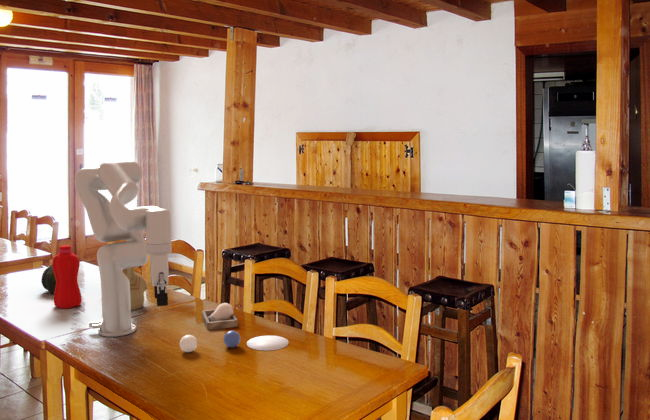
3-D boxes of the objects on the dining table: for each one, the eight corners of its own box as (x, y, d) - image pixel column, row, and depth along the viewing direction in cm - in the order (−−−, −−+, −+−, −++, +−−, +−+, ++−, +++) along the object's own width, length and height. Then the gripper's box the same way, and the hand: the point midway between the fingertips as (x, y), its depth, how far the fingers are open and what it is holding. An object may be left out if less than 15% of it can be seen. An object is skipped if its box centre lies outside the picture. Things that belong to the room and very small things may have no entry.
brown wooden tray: (207, 329, 211) (207, 323, 211) (201, 316, 226) (201, 310, 226) (237, 326, 215) (237, 320, 214) (230, 314, 230) (230, 307, 229)
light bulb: (208, 313, 214) (232, 299, 220) (200, 312, 219) (224, 299, 226) (215, 329, 215) (239, 315, 221) (206, 328, 220) (230, 315, 227)
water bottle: (69, 300, 247) (66, 242, 244) (84, 305, 241) (82, 245, 238) (48, 305, 240) (45, 245, 237) (63, 310, 234) (60, 248, 230)
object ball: (225, 350, 191) (224, 334, 190) (222, 345, 196) (222, 329, 195) (241, 348, 192) (241, 332, 192) (238, 343, 198) (238, 327, 197)
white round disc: (251, 352, 189) (251, 352, 189) (243, 338, 202) (243, 337, 202) (293, 347, 194) (293, 347, 194) (282, 334, 207) (282, 333, 207)
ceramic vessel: (141, 298, 251) (139, 240, 248) (154, 310, 234) (151, 248, 231) (99, 304, 242) (96, 244, 239) (109, 317, 226) (106, 252, 222)
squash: (30, 284, 252) (54, 257, 254) (39, 277, 267) (62, 252, 268) (58, 304, 255) (81, 278, 257) (65, 296, 270) (87, 271, 271)
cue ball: (180, 355, 186) (180, 338, 186) (179, 349, 191) (178, 333, 191) (198, 353, 188) (197, 337, 187) (196, 347, 193) (196, 331, 193)
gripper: (145, 244, 191) (147, 296, 193) (148, 254, 175) (150, 310, 177) (168, 243, 193) (170, 293, 195) (174, 252, 177) (176, 307, 179)
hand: (161, 301), depth 186 cm, fingers open, 9 cm apart
